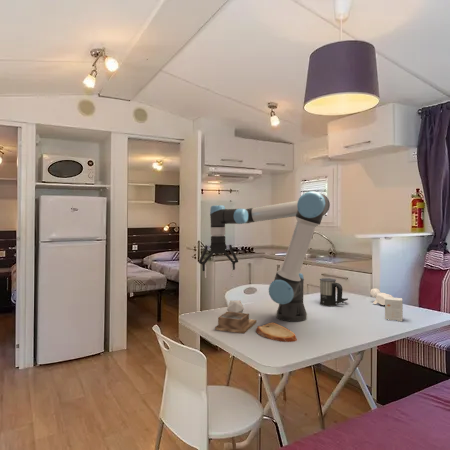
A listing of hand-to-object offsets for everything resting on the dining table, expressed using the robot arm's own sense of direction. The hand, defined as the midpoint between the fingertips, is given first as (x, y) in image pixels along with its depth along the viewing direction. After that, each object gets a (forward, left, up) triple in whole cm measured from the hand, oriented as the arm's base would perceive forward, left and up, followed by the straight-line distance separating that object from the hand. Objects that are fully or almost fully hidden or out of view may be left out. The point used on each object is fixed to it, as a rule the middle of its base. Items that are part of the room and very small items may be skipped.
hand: (218, 276), depth 192 cm
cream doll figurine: (-79, -58, -21) cm, 100 cm away
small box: (-83, -27, -20) cm, 90 cm away
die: (-8, -2, -20) cm, 22 cm away
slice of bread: (-35, +18, -21) cm, 44 cm away
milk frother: (-53, -49, -20) cm, 75 cm away
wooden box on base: (-14, +13, -20) cm, 28 cm away
